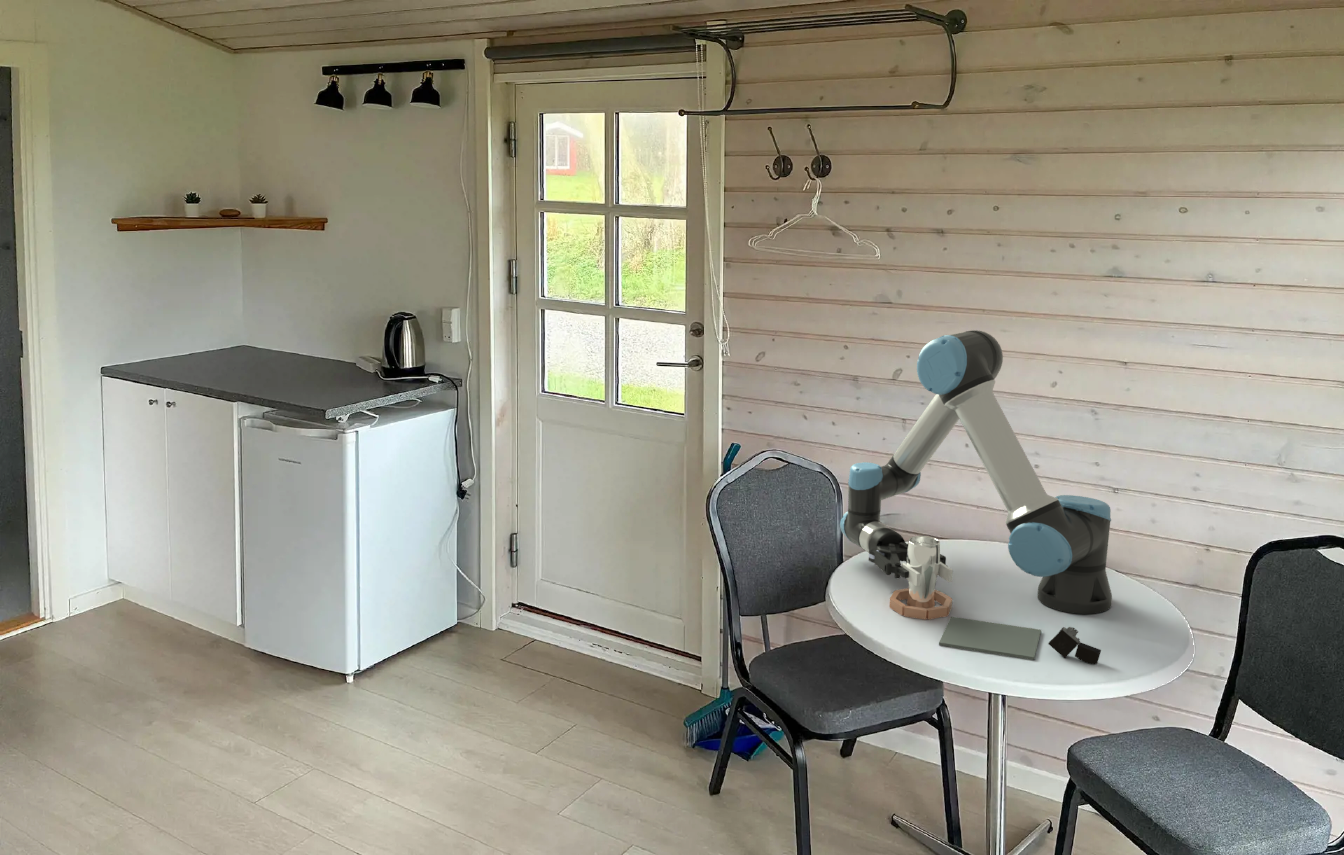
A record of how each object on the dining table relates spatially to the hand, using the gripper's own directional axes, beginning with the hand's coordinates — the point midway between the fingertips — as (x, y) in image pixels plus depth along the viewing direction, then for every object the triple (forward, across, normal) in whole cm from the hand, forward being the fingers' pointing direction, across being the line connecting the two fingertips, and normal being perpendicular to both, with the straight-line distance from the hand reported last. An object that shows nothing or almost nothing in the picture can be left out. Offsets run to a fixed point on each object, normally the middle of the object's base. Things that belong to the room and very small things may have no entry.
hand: (934, 577), depth 238 cm
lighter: (+26, -16, -9) cm, 32 cm away
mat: (+14, -5, -8) cm, 17 cm away
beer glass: (-5, 0, -9) cm, 10 cm away
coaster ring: (-5, 0, -8) cm, 10 cm away
